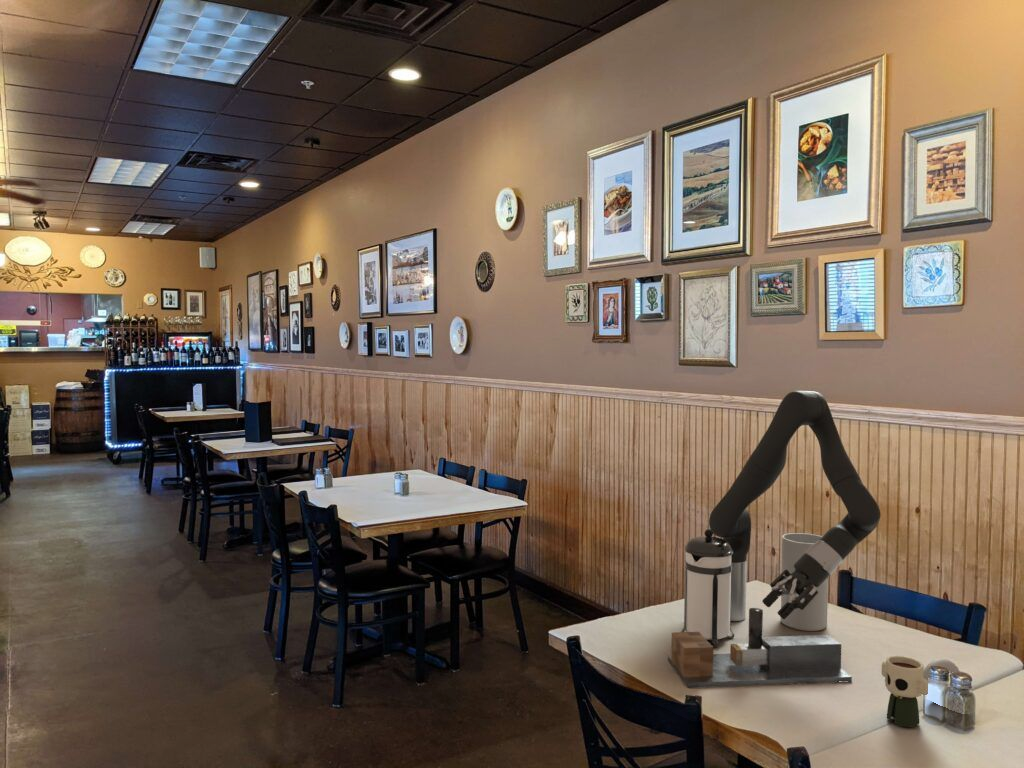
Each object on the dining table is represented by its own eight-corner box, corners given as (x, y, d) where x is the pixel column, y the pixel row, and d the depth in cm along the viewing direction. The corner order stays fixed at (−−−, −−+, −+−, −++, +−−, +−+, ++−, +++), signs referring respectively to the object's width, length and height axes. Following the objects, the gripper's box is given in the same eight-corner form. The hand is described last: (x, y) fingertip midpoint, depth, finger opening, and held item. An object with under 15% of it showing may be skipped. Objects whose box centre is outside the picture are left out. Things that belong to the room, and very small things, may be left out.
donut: (928, 709, 168) (930, 664, 167) (916, 702, 171) (917, 658, 170) (964, 703, 171) (965, 659, 170) (951, 696, 174) (952, 653, 173)
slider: (730, 659, 188) (731, 608, 188) (823, 656, 191) (824, 605, 190) (736, 665, 185) (737, 613, 184) (830, 662, 187) (832, 610, 186)
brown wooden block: (671, 660, 190) (671, 632, 190) (698, 659, 191) (698, 631, 191) (684, 677, 180) (684, 648, 180) (712, 676, 181) (713, 647, 181)
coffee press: (746, 649, 201) (748, 536, 200) (685, 648, 201) (687, 535, 200) (728, 625, 218) (730, 521, 217) (672, 624, 219) (674, 521, 217)
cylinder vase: (771, 620, 223) (773, 535, 222) (803, 614, 228) (805, 531, 227) (804, 634, 211) (806, 545, 210) (836, 628, 217) (839, 541, 216)
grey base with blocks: (667, 660, 193) (667, 632, 193) (818, 655, 197) (818, 627, 197) (688, 687, 177) (688, 657, 177) (851, 681, 181) (852, 651, 181)
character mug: (869, 714, 165) (870, 655, 164) (892, 708, 168) (894, 650, 167) (914, 737, 155) (915, 674, 154) (937, 731, 158) (939, 669, 157)
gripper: (794, 545, 194) (750, 591, 194) (822, 560, 180) (775, 609, 180) (813, 565, 195) (769, 611, 194) (843, 582, 181) (796, 631, 180)
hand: (772, 610), depth 187 cm, fingers open, 8 cm apart
